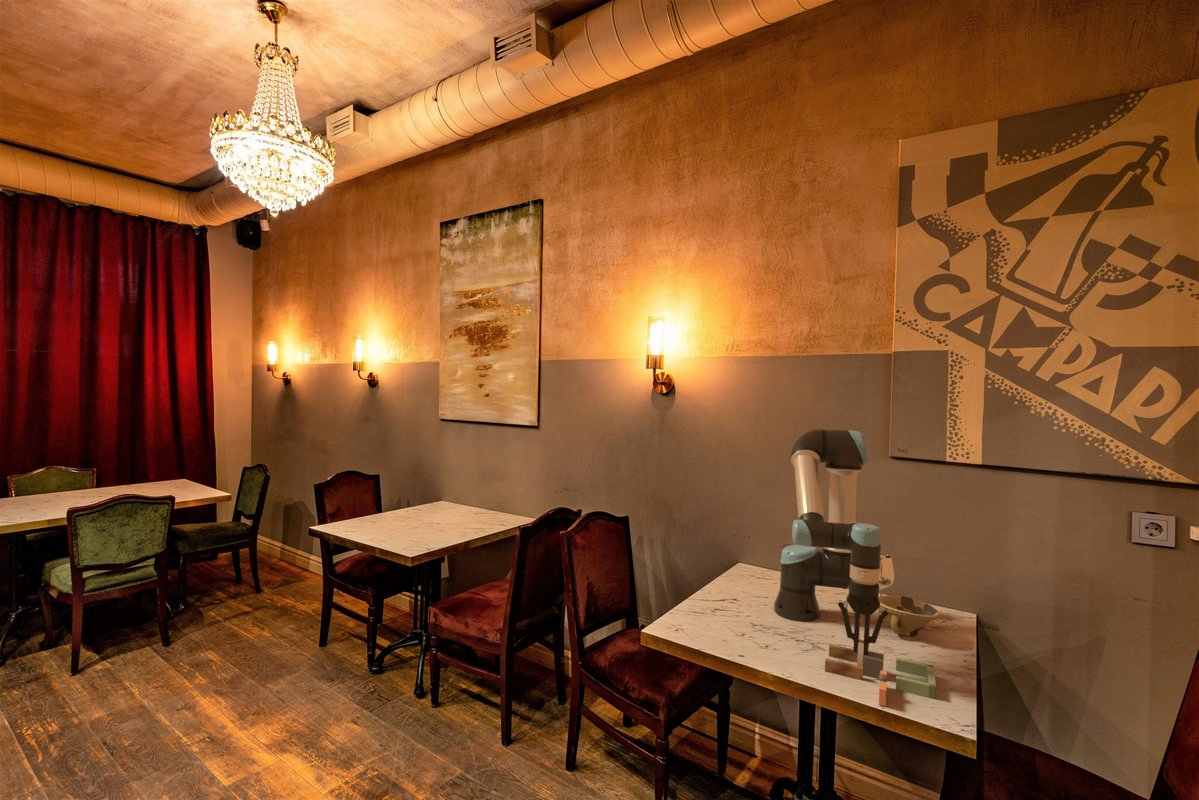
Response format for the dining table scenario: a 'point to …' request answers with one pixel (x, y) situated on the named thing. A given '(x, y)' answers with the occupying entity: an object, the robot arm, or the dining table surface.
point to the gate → (882, 687)
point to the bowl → (907, 614)
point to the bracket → (914, 685)
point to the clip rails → (843, 667)
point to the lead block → (872, 664)
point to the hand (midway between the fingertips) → (860, 664)
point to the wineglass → (885, 573)
